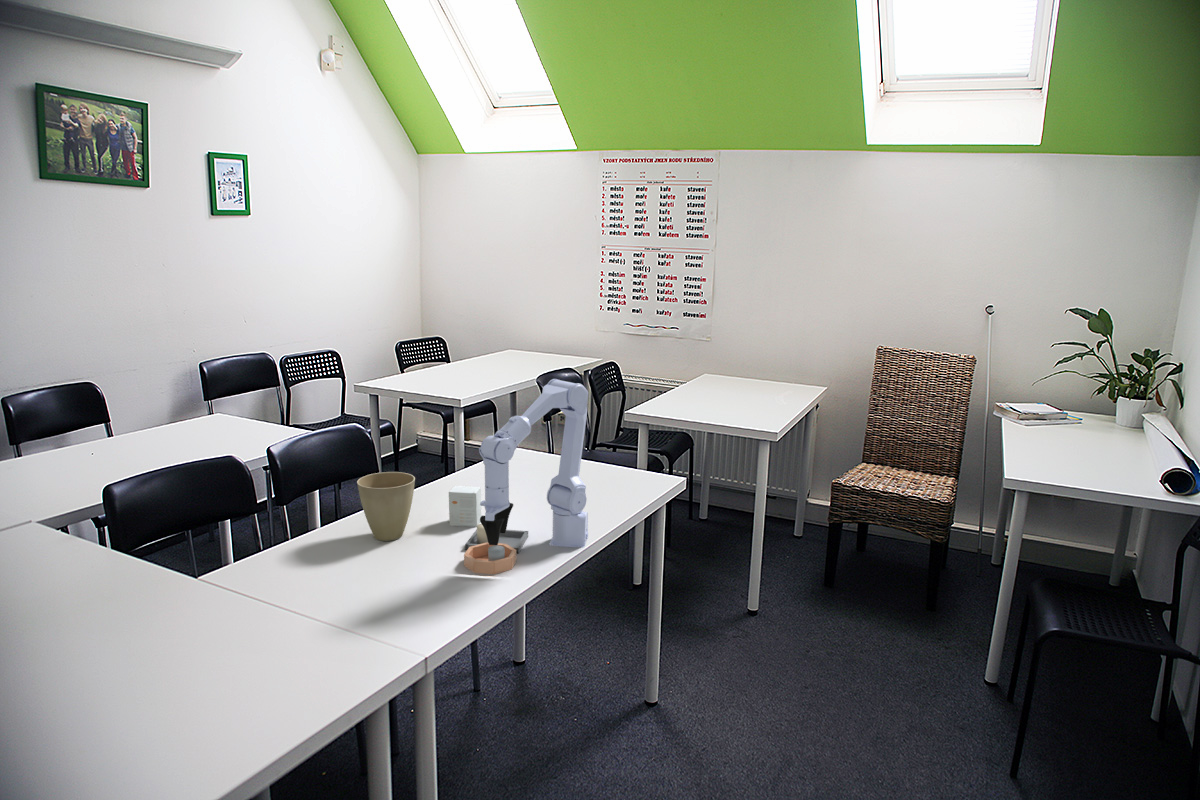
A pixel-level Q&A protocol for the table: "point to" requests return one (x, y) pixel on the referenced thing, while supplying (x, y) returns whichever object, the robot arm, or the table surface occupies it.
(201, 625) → the table surface
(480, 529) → the pebble sand
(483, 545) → the bowl
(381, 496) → the plant pot
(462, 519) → the small box
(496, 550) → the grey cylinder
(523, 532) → the tray
